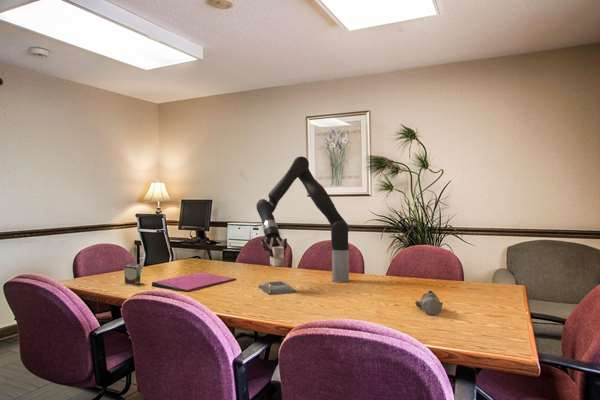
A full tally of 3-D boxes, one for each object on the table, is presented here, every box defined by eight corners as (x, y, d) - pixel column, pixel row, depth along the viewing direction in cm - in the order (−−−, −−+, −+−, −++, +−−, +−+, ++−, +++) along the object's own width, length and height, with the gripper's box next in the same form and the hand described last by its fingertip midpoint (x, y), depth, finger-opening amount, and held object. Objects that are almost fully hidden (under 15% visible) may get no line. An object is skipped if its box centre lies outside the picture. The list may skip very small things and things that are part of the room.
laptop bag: (202, 269, 241) (236, 275, 226) (201, 276, 241) (236, 282, 226) (144, 280, 207) (181, 287, 193) (144, 288, 207) (180, 295, 193)
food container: (147, 283, 217) (147, 265, 218) (137, 285, 212) (137, 266, 212) (133, 281, 224) (133, 263, 224) (123, 283, 219) (123, 264, 219)
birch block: (279, 263, 205) (279, 246, 205) (283, 265, 198) (283, 247, 198) (269, 264, 203) (269, 246, 203) (274, 266, 196) (273, 248, 196)
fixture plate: (284, 285, 211) (284, 277, 211) (296, 292, 194) (296, 284, 194) (258, 287, 206) (258, 279, 206) (268, 294, 190) (268, 286, 190)
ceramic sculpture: (418, 293, 153) (414, 287, 168) (418, 316, 152) (414, 308, 167) (447, 294, 151) (440, 288, 166) (448, 317, 151) (440, 309, 165)
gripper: (258, 225, 205) (265, 252, 194) (285, 225, 210) (293, 250, 199) (256, 235, 210) (262, 261, 199) (282, 234, 215) (289, 260, 204)
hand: (277, 256), depth 199 cm, fingers closed on birch block, 5 cm apart
